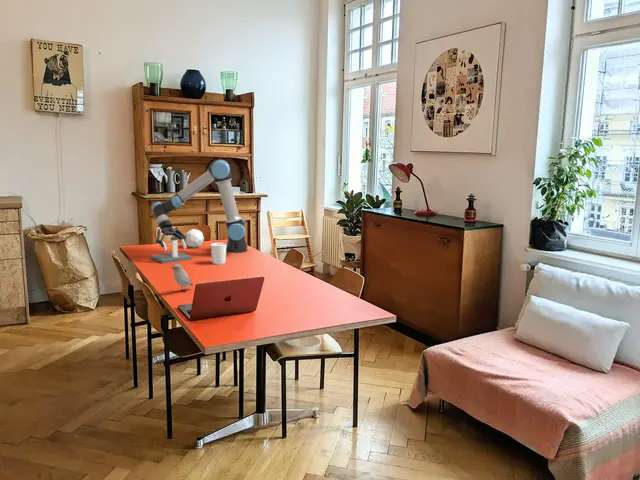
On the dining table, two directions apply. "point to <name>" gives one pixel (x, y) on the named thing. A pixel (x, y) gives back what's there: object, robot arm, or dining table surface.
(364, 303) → the dining table surface
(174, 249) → the fader knob
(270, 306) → the dining table surface
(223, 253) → the candle holder
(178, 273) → the bird
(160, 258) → the board
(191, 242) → the geodesic sphere
